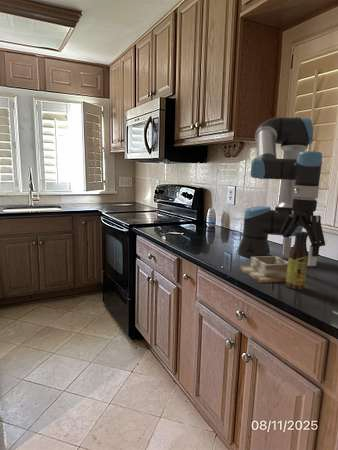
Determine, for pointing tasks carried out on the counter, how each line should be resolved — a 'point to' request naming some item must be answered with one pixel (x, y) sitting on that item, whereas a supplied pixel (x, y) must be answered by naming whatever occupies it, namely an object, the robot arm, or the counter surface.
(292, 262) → the sauce bottle
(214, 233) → the counter surface
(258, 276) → the caddy board
